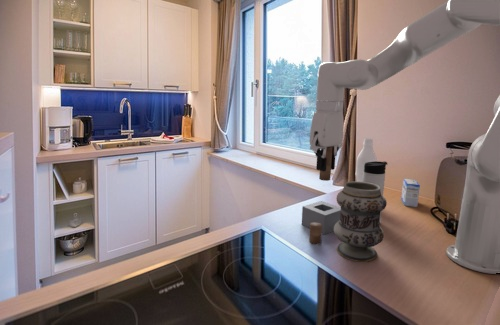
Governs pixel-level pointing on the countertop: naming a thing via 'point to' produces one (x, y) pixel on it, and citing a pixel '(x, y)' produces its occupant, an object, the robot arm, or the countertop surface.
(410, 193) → the medicine box
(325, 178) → the long pin
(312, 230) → the short pin
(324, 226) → the socket block
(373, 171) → the travel mug
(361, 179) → the water bottle
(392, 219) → the countertop surface
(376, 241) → the apothecary jar
